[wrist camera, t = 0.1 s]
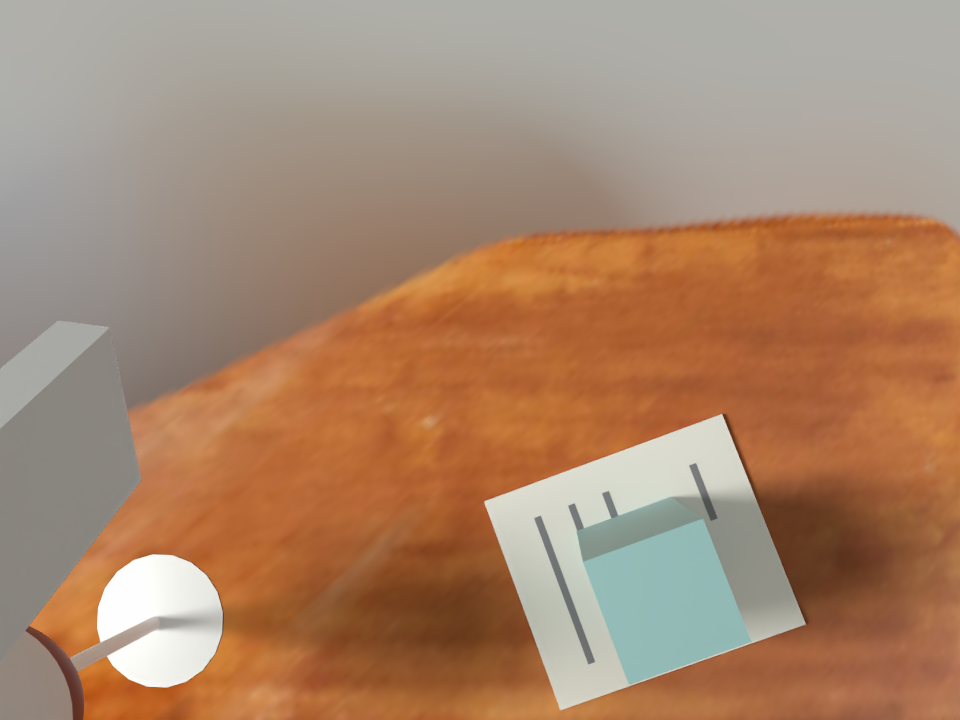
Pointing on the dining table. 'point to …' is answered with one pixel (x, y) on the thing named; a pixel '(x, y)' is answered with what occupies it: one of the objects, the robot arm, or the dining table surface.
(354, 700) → the dining table surface
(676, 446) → the letter
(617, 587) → the block
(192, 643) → the wineglass
